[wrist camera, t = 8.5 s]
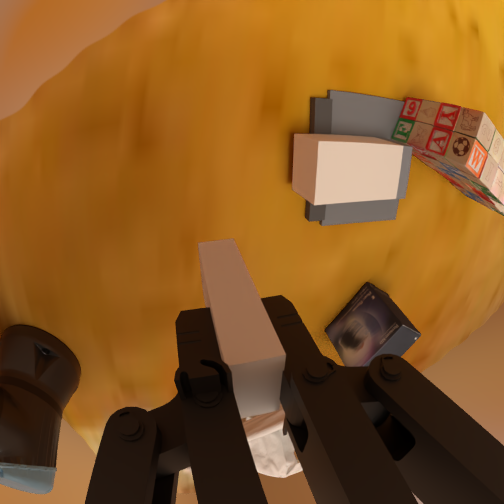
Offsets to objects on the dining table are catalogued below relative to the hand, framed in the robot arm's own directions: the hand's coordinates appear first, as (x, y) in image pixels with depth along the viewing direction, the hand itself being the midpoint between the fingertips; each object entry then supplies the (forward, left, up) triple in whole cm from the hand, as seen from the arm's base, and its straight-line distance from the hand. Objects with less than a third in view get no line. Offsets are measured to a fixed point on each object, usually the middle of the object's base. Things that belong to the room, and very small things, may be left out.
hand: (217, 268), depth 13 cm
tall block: (+10, 0, -15) cm, 18 cm away
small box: (+23, -24, -20) cm, 38 cm away
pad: (+19, 0, -19) cm, 27 cm away
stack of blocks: (+34, +2, -19) cm, 39 cm away
